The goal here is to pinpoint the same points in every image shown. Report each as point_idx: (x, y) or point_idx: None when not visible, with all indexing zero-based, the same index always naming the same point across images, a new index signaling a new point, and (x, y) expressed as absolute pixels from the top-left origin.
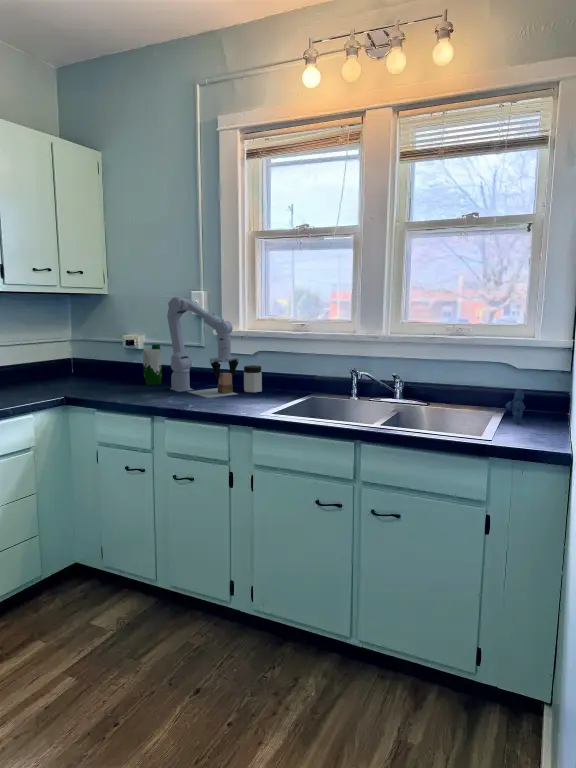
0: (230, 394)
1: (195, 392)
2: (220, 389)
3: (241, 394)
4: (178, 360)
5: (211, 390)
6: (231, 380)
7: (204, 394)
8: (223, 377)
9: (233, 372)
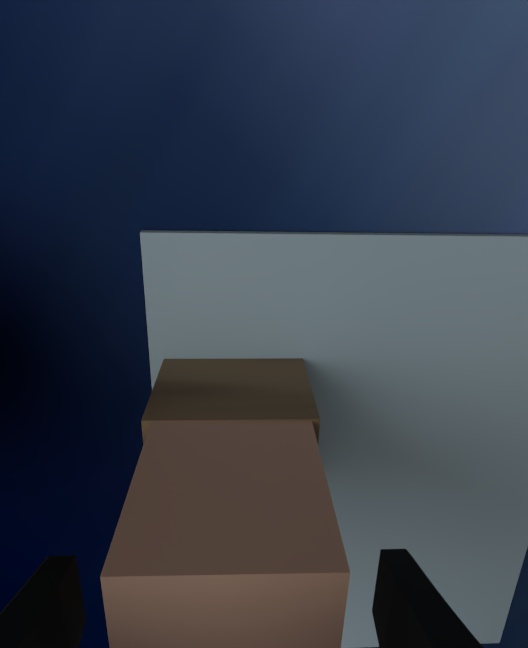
0: (257, 265)
1: (475, 576)
2: None
3: (96, 232)
4: None
5: None
6: (149, 460)
7: (488, 445)
8: (332, 515)
9: (15, 633)
